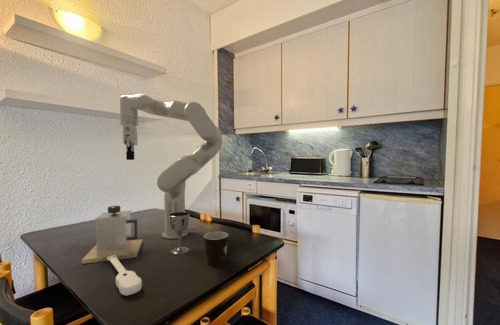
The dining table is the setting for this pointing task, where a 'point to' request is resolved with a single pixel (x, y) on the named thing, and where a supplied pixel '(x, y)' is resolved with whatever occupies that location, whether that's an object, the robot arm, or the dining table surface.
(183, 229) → the wine glass
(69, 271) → the dining table surface
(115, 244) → the press
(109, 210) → the plunger
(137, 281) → the white toy guitar
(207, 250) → the coffee mug
